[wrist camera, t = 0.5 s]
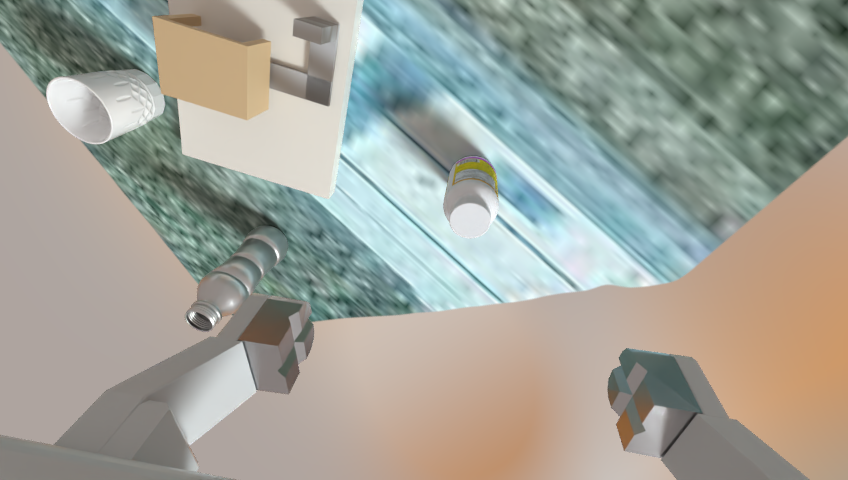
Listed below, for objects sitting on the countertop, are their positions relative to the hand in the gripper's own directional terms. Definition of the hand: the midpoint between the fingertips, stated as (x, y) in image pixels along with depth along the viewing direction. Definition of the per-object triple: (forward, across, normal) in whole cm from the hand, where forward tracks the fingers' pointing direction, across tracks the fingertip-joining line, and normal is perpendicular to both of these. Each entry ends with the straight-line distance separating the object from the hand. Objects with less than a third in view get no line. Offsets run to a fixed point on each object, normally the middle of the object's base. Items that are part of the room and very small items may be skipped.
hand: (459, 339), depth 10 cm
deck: (+43, +27, +2) cm, 51 cm away
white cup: (+44, +47, +8) cm, 64 cm away
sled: (+41, +25, 0) cm, 48 cm away
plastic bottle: (+43, +31, +29) cm, 61 cm away
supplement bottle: (+44, -1, +14) cm, 46 cm away
